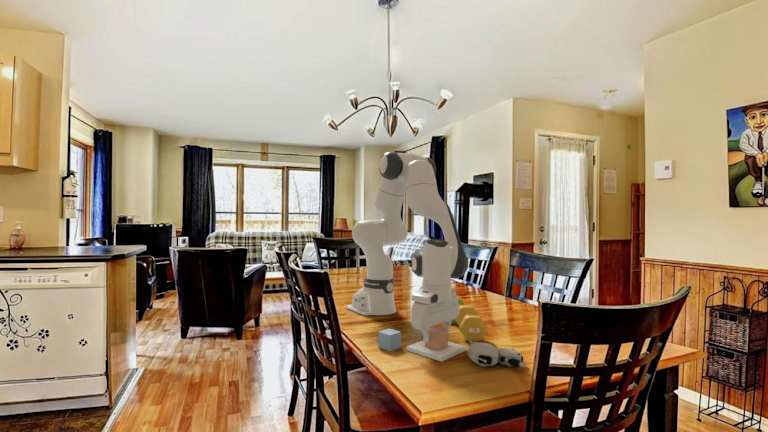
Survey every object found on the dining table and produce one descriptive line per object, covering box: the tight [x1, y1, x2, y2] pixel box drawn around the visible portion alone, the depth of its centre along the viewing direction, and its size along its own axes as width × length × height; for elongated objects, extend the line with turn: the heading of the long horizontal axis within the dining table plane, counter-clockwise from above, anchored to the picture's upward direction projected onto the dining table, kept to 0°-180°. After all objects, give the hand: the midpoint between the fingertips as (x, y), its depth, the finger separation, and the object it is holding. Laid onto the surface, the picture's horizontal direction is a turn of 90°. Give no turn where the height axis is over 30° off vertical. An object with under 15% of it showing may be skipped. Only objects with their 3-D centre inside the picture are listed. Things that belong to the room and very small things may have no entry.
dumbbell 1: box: [451, 297, 466, 325], centre depth 157 cm, size 16×8×7 cm, turn 169°
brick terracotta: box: [425, 326, 449, 350], centre depth 120 cm, size 5×5×5 cm
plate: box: [405, 339, 467, 363], centre depth 120 cm, size 13×13×1 cm
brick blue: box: [377, 328, 402, 352], centre depth 122 cm, size 5×5×5 cm
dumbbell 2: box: [455, 304, 488, 343], centre depth 137 cm, size 19×9×8 cm, turn 176°
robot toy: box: [467, 341, 527, 368], centre depth 110 cm, size 12×4×15 cm
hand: (436, 338), depth 120 cm, fingers open, 8 cm apart
